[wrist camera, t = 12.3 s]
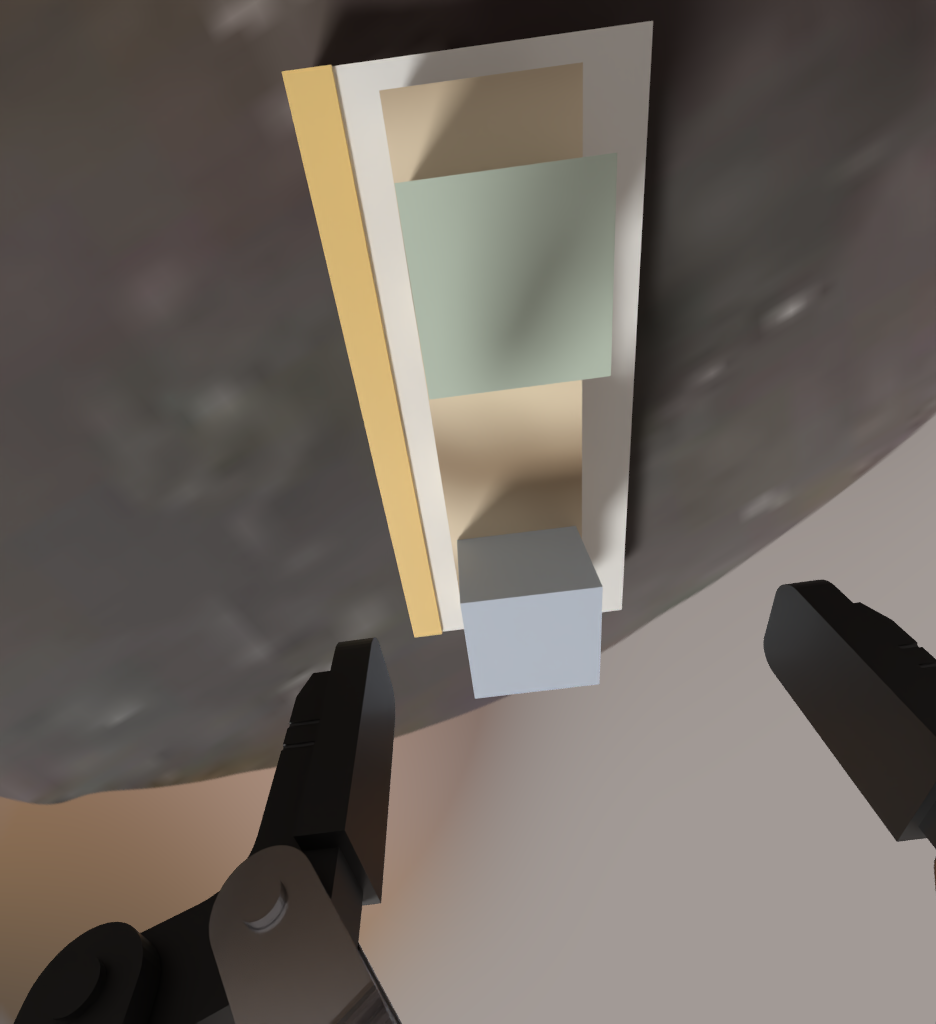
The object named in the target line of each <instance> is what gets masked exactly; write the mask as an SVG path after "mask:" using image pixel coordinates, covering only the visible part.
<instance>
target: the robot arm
mask: <svg viewBox="0 0 936 1024" xmlns="http://www.w3.org/2000/svg"><path fill="white" fill-rule="evenodd" d="M764 652H765V656H766V659H767V662H768V664H769V666H770V668H771V669H772V671H773V673H774V674H775V675H776V677H777V678H778V679H779V681H780V682H781V683H782V685H783V686H784V688H785V689H786V690H787V692H788V693H789V694H790V696H791V697H792V699H793V700H794V701H795V702H796V704H797V705H798V707H799V708H800V710H801V711H802V712H803V713H804V715H805V716H806V718H807V719H808V720H809V722H810V723H811V725H812V726H813V727H814V728H815V730H816V731H817V733H818V734H819V735H820V737H821V738H822V740H823V741H824V742H825V744H826V745H827V747H828V748H829V749H830V751H831V752H832V753H833V754H834V756H835V757H836V759H837V760H838V761H839V763H840V764H841V766H842V767H843V768H844V770H845V771H846V772H847V774H848V775H849V777H850V778H851V779H852V781H853V782H854V783H855V785H856V786H857V788H858V789H859V790H860V791H861V793H862V794H863V796H864V797H865V798H866V800H867V801H868V803H869V804H870V805H871V807H872V808H873V809H874V811H875V812H876V814H877V815H878V816H879V818H880V819H881V820H882V822H883V823H884V825H885V826H886V827H887V829H888V830H889V831H890V833H891V834H892V835H893V837H894V838H895V840H896V841H906V840H914V839H922V838H928V839H929V841H930V842H931V843H932V845H933V846H934V847H935V848H936V659H935V658H934V657H933V656H932V655H930V654H929V653H928V652H927V651H926V650H925V649H924V648H923V647H920V648H919V647H918V645H917V642H916V641H915V640H914V639H913V638H912V637H910V636H909V635H908V634H907V633H906V632H905V631H903V629H902V628H900V627H899V626H898V625H897V624H896V623H895V622H894V621H892V620H891V619H889V618H887V617H886V616H884V615H882V614H880V613H878V612H876V611H875V610H873V609H871V608H869V607H867V606H866V605H864V604H862V603H860V602H859V603H852V602H851V601H850V600H849V599H848V598H847V597H846V596H845V595H844V594H843V593H842V592H841V591H840V590H839V589H838V588H836V587H835V586H834V585H833V584H832V583H830V582H829V581H826V580H815V581H807V582H800V583H793V584H785V585H781V586H780V587H779V588H778V589H777V591H776V595H775V599H774V602H773V606H772V610H771V614H770V617H769V621H768V625H767V629H766V633H765V636H764ZM289 724H290V727H289V728H288V729H287V733H286V736H285V740H284V743H283V747H284V748H283V750H282V751H281V754H280V758H279V761H278V765H277V768H276V772H275V775H274V779H273V782H272V786H271V790H270V793H269V797H268V800H267V804H266V807H265V811H264V815H263V818H262V822H261V825H260V829H259V832H258V836H257V839H256V841H255V844H254V847H253V849H252V851H251V853H250V855H249V857H248V858H247V859H246V860H245V861H244V862H243V863H241V864H240V865H239V866H238V867H237V868H236V869H235V870H234V871H233V873H232V874H231V875H230V876H229V878H228V879H227V880H226V882H225V883H224V885H223V886H222V888H221V890H220V891H219V892H217V893H216V894H215V895H214V896H212V897H210V898H209V899H208V900H206V901H204V902H202V903H200V904H199V905H196V906H194V907H192V908H190V909H188V910H186V911H184V912H182V913H180V914H179V915H176V916H174V917H172V918H170V919H168V920H166V921H164V922H162V923H160V924H158V925H156V926H154V927H152V928H150V929H148V930H146V931H144V932H142V933H139V932H138V931H137V930H136V929H135V928H133V927H132V926H131V925H128V924H126V923H122V922H111V923H106V924H103V925H99V926H97V927H95V928H92V929H91V930H89V931H87V932H85V933H84V934H82V935H80V936H79V937H77V938H76V939H75V940H73V941H72V942H71V943H69V944H68V945H67V946H66V947H65V948H64V949H63V950H62V951H61V952H60V953H58V955H57V956H56V957H55V958H54V959H53V960H52V961H51V962H50V963H49V964H48V966H47V967H46V968H45V969H44V971H43V972H42V973H41V975H40V976H39V977H38V979H37V980H36V982H35V983H34V985H33V986H32V988H31V990H30V992H29V993H28V995H27V997H26V999H25V1001H24V1003H23V1005H22V1007H21V1009H20V1011H19V1013H18V1015H17V1018H16V1020H15V1022H14V1024H402V1023H401V1021H400V1019H399V1017H398V1015H397V1013H396V1011H395V1010H394V1008H393V1006H392V1004H391V1002H390V1000H389V998H388V996H387V995H386V993H385V991H384V989H383V987H382V986H381V984H380V981H379V980H378V978H377V976H376V974H375V972H374V970H373V968H372V967H371V965H370V963H369V961H368V959H367V957H366V955H365V954H364V952H363V950H362V948H361V946H360V944H359V942H358V940H359V930H360V920H361V911H362V905H370V904H378V903H381V896H382V883H383V870H384V857H385V843H386V831H387V818H388V805H389V792H390V779H391V766H392V752H393V740H394V727H395V699H394V692H393V687H392V684H391V680H390V677H389V674H388V671H387V667H386V664H385V661H384V658H383V654H382V651H381V648H380V645H379V642H378V640H377V638H368V639H361V640H353V641H346V642H339V643H338V644H337V646H336V649H335V653H334V657H333V662H332V666H331V671H326V672H318V673H313V674H312V676H311V677H310V679H309V680H308V681H307V683H306V684H305V686H304V687H303V688H302V690H301V691H300V693H299V694H298V696H297V697H296V701H295V704H294V708H293V711H292V715H291V718H290V722H289ZM934 875H935V889H936V858H935V860H934Z"/></svg>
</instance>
